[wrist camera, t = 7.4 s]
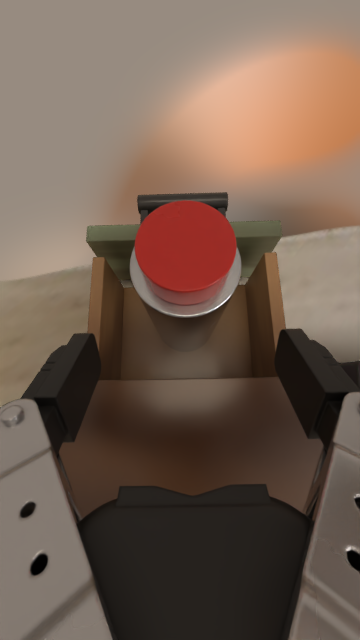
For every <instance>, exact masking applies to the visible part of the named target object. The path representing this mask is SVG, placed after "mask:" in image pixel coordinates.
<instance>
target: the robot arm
mask: <svg viewBox="0 0 360 640" xmlns="http://www.w3.org/2000/svg"><path fill="white" fill-rule="evenodd" d="M274 366H275V370H276V373H277V375H278V377H279V379H280V381H281V383H282V386H283V388H284V390H285V392H286V394H287V396H288V398H289V400H290V402H291V405H292V407H293V409H294V411H295V413H296V415H297V417H298V419H299V421H300V423H301V426H302V428H303V430H304V432H305V434H306V436H307V438H308V439H321V441H322V443H323V447H322V450H321V453H320V456H319V460H318V463H317V466H316V470H315V473H314V477H313V480H312V484H311V487H310V490H309V494H308V497H307V500H306V502H305V505H304V508H303V510H302V512H300V511H299V510H297V509H296V508H294V507H293V506H291V505H289V504H287V503H285V502H284V501H281V500H279V499H276V498H274V497H270V496H269V493H268V489H267V485H266V484H230V485H227V486H223V487H220V488H217V489H214V490H211V491H208V492H205V493H201V494H198V495H193V496H191V495H187V494H183V493H180V492H176V491H173V490H169V489H165V488H162V487H158V486H119V491H118V497H117V499H114V500H111V501H109V502H107V503H105V504H103V505H101V506H99V507H98V508H96V509H94V510H93V511H92V512H90V513H89V514H88V515H86V516H85V517H84V516H83V514H82V511H81V509H80V507H79V504H78V502H77V499H76V497H75V494H74V491H73V488H72V486H71V483H70V480H69V477H68V475H67V472H66V469H65V467H64V464H63V461H62V458H61V456H60V453H59V450H60V448H61V445H62V443H70V442H75V439H76V437H77V434H78V431H79V429H80V426H81V424H82V421H83V418H84V416H85V413H86V411H87V408H88V405H89V403H90V400H91V398H92V395H93V393H94V390H95V387H96V385H97V382H98V380H99V377H100V374H101V359H100V355H99V351H98V347H97V342H96V338H95V335H94V334H93V333H80V334H74V335H73V336H72V338H71V339H70V341H69V342H68V344H67V345H62V346H61V347H59V348H58V349H57V350H55V351H54V352H53V353H52V354H51V355H50V357H49V358H48V360H47V361H46V364H44V365H43V367H42V368H41V371H40V372H38V374H37V375H36V377H35V378H34V380H33V381H32V383H31V384H30V385H29V387H28V388H27V390H26V391H25V393H24V394H23V396H22V397H21V398H20V399H18V400H14V401H11V402H9V403H7V404H5V405H3V406H2V407H0V640H360V389H359V388H358V387H357V386H356V384H355V383H354V382H353V381H352V379H351V378H350V377H349V376H348V375H347V373H346V372H345V371H344V370H343V368H342V367H341V366H339V364H338V362H337V361H336V360H335V359H334V358H333V356H332V355H331V354H330V353H329V351H328V350H327V349H326V348H325V347H324V346H322V345H321V344H319V343H318V342H316V341H315V340H310V339H309V338H308V337H307V335H306V334H305V333H304V332H303V330H302V329H282V330H281V331H280V333H279V338H278V343H277V348H276V352H275V357H274Z"/></svg>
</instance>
